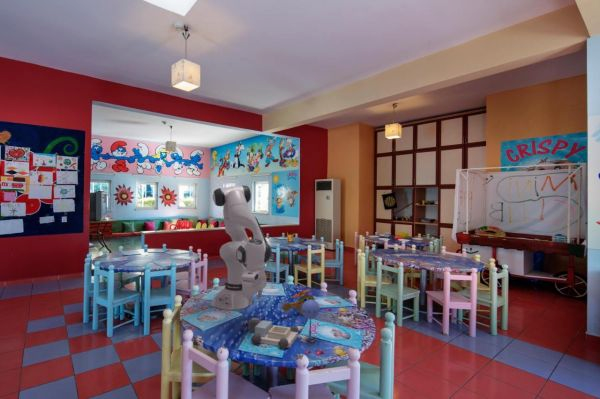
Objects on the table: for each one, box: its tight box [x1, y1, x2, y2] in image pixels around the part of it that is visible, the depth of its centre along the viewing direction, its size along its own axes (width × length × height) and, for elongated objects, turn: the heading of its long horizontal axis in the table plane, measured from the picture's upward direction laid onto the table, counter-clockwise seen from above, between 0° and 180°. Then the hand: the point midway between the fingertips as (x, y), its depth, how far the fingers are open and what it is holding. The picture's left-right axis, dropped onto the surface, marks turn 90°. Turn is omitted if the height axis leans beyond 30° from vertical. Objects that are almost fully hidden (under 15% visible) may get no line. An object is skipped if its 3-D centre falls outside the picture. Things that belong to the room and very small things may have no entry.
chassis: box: [250, 319, 299, 350], centre depth 145 cm, size 18×16×6 cm
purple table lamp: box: [301, 299, 321, 341], centre depth 146 cm, size 9×9×18 cm
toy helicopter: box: [281, 288, 316, 316], centre depth 175 cm, size 8×21×14 cm, turn 123°
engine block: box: [247, 317, 262, 334], centre depth 153 cm, size 5×4×6 cm
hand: (255, 301), depth 153 cm, fingers open, 8 cm apart
